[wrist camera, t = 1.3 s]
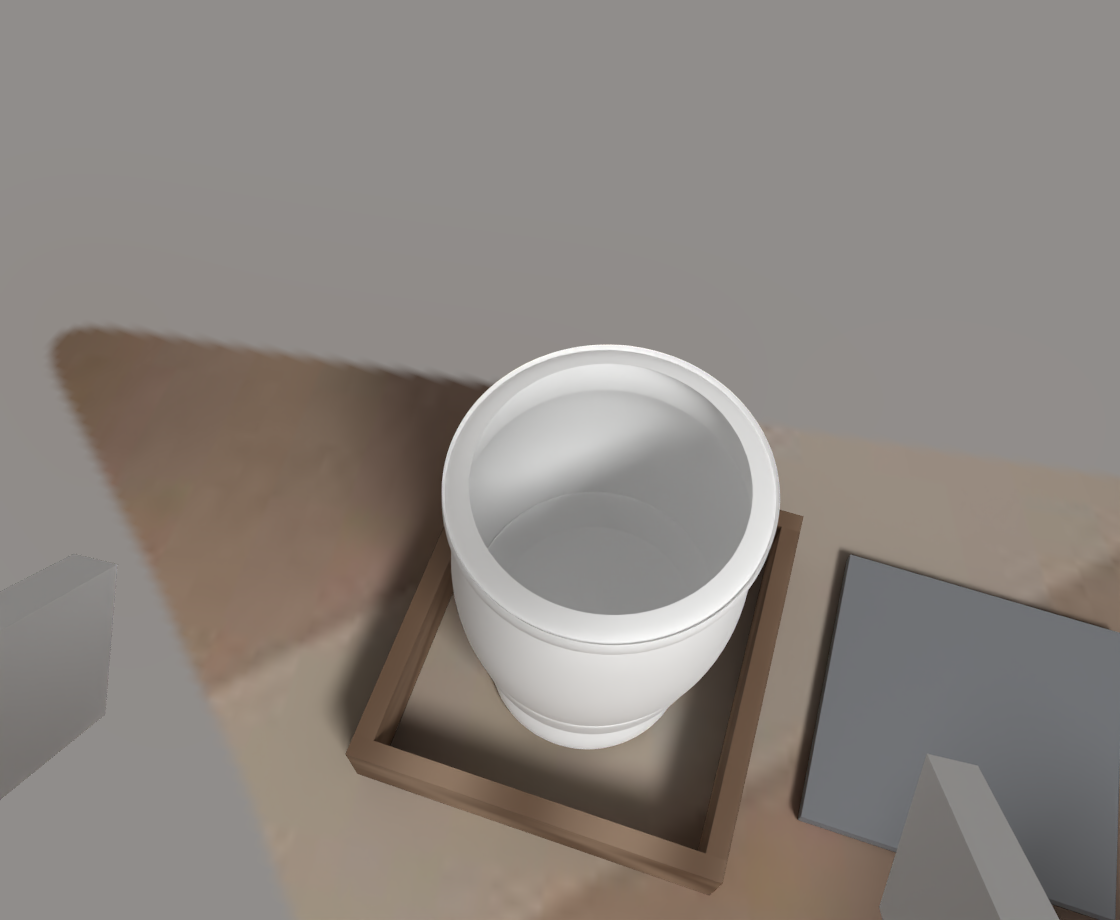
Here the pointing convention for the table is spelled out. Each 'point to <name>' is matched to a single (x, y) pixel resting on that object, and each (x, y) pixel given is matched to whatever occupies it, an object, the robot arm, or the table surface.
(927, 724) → the pad
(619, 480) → the jar
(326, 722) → the table surface
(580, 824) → the collar
